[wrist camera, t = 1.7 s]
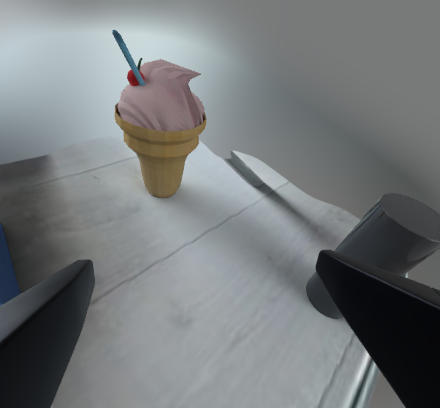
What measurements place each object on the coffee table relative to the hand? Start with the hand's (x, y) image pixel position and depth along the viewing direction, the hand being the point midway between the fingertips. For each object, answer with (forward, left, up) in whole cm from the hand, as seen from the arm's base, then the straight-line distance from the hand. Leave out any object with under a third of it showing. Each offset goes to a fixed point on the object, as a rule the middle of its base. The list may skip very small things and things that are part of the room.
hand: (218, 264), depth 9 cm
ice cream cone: (+22, -10, -16) cm, 29 cm away
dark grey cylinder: (-5, -17, -16) cm, 24 cm away
